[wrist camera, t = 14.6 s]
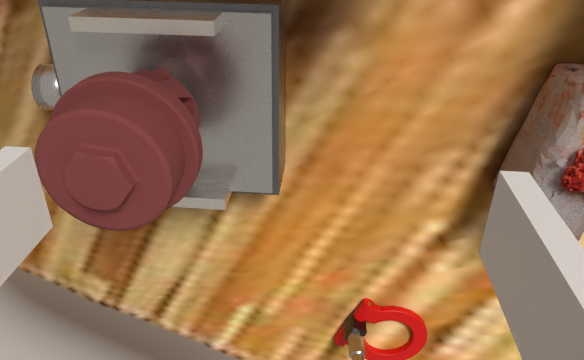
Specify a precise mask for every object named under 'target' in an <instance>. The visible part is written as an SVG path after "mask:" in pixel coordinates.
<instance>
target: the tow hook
mask: <svg viewBox="0 0 584 360" xmlns="http://www.w3.org/2000/svg"><path fill="white" fill-rule="evenodd" d="M387 320H393V321H399V322H402V323H404V324H406V325H407V326H409V327H410V329H411V330H412V337H411V339H410V340H409V341H408V343H406V344H405V345H404V346H402V347H399V348H397V349H392V350H381V349H377V348H374V347H372V346H370V345H369V344H368V343H367V342H366V341H365V339H364V336H365V335H366V333H367V331H366V322H365V321H368V322H370V323H378V322H381V321H387ZM334 340H335V342H336V343H337V344H338V345H339V346H344V345H345V344H347V345H348V346H349V356H350V358H351V359H352V360H364V358H365V359H367V360H406V359H408V358H411V357H413V356H414V355H415V354H417V353H418V352H419V351H420V350H421V349H422V348H423V347H424V345H425V343H426V341H427V329H426V326H425V323H424V321H423V320H422V319H421V318H420V316H419V315H417V314H416V313H414V312H413V311H411V310H408V309H405V308H403V307H395V306H385V307H379V306H377V305H375V304H374V302H373V301H372V300H370V299H364V301H363V302H362V303H361V304H360V306H359V307H358V308H357V309H356V311H354V312H353V313H352V314H351V315H350V317H349V318H348V319H347V320H346V322H345V323H344V326H343V327H342V328H341V330H340V331H339V332H338V333H337V335H336V336H335V337H334Z"/></svg>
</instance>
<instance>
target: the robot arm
mask: <svg viewBox="0 0 584 360" xmlns="http://www.w3.org/2000/svg"><path fill="white" fill-rule="evenodd" d="M52 227H53V225H52V221H51V218H50V214H49V211H48V207H47V204H46V200H45V196H44V193H43V189H42V186H41V182H40V178H39V175H38V171H37V168H36V164H35V161H34V157H33V153H32V150H31V148H30V147H10V146H5V147H4V148H2V149H1V150H0V286H1V285H2V284H3V283H4V281H6V279H7V278H8V277H9V276H10V275H11V274H12V273H13V271H14V270H15V269H16V268H17V267H18V266H19V265H20V263H21V262H22V261H23V260H24V259H25V258H26V257H27V256H28V254H29V253H30V252H31V251H32V250H33V249H34V248H35V246H36V245H37V244H38V243H39V242H40V241H41V240H42V238H43V237H44V236H45V235H46V234H47V233H48V232H49V230H50V229H51V228H52ZM479 254H480V256H481V259H482V261H483V264H484V266H485V268H486V271H487V273H488V276H489V278H490V281H491V283H492V286H493V288H494V291H495V293H496V296H497V298H498V301H499V303H500V305H501V308H502V310H503V313H504V315H505V318H506V320H507V323H508V325H509V328H510V330H511V333H512V335H513V337H514V340H515V342H516V345H517V347H518V350H519V352H520V355H521V357H522V360H584V249H583V247H582V246H581V245H580V243H579V242H578V240H577V239H576V238H575V236H574V235H573V233H572V232H571V231H570V229H569V228H568V226H567V225H566V224H565V222H564V221H563V219H562V218H561V217H560V215H559V214H558V212H557V211H556V210H555V208H554V207H553V205H552V204H551V203H550V201H549V200H548V198H547V197H546V196H545V194H544V193H543V191H542V190H541V188H540V187H539V186H538V184H537V183H536V181H535V180H534V179H533V177H532V176H531V174H530V173H529V172H516V171H499V175H498V179H497V183H496V187H495V191H494V195H493V199H492V203H491V206H490V210H489V214H488V218H487V222H486V226H485V230H484V234H483V238H482V242H481V245H480V249H479Z"/></svg>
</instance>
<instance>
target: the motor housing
mask: <svg viewBox="0 0 584 360" xmlns="http://www.w3.org/2000/svg"><path fill="white" fill-rule="evenodd" d="M38 2H39V6H40V10H41V15H42V19H43V23H44V27H45V32H46V36H47V40H48V45H49V49H50V53H51V58H52V62H53V64H40V65H38V66H37V67H36V69H35V70H34V73H33V76H32V93H33V97H34V99H35V101H36V103H37V105H38V106H39V107H40V108H42V109H44V110H53V108H54V106H55V104H56V103H57V101H58V100H59V98H60V97H61V96H62V95H63V94H64V93H65V92H66V91H67V90H69V89H70V88H71V87H73V86H74V85H76V84H77V83H78V82H80V81H82V80H83V79H85V78H87V77H89V76H92V75H95V74H98V73H104V72H127V73H134V72H138V71H145V70H150V71H153V70H154V69H156V68H158V67H163V68H166V69H167V70H169V71H170V73H171V74H172V77H173V78H174V79H176V80H178V81H179V82H180V83H181V84H182V85H184V86H185V87H186V89H187V90H188V91H189V92H190V93H191V95H192V97H193V98H194V100H195V102H196V105H197V107H198V111H199V118H200V122H199V132H200V136H201V139H202V146H203V159H202V164H201V168H200V171H199V173H198V176H197V178H196V180H195V182H194V184H193V186H192V187H191V189H190V190H189V192H188V193H187V194H186V195H185V196H184V197H183V199H182V200H180V201H179V202H178V203H176V204H175V205H173V206H171V207H182V208H200V209H218V210H226V208H227V205H228V202H229V199H230V197H231V194H232V192H234V193H253V194H271V195H279V192H280V187H281V182H282V177H283V172H284V167H285V118H286V0H38Z"/></svg>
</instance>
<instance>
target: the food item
mask: <svg viewBox="0 0 584 360" xmlns="http://www.w3.org/2000/svg"><path fill="white" fill-rule="evenodd" d="M499 171H516V172H529V173H530V174H531V176H532V177H533V179H534V180H535V181H536V183H537V184H538V186H539V187H540V188H541V190H542V191H543V193H544V194H545V196H546V197H547V198H548V200H549V201H550V203H551V204H552V205H553V207H554V208H555V210H556V211H557V212H558V214H559V215H560V217H561V218H562V219H563V221H564V222H565V224H566V225H567V226H568V228H569V229H570V231H571V232H572V233H573V235H574V236H575V238H576V239H577V240H578V241H579V239H580V237H581V235H582V233H583V232H584V65H581V64H575V63H564V64H556V65H555V66H554V68H553V69H552V71H551V73H550V75H549V76H548V78H547V80H546V81H545V83H544V85H543V87H542V88H541V90H540V92H539V93H538V95H537V97H536V99H535V101H534V103H533V105H532V107H531V109H530V111H529V114H528V116H527V118H526V119H525V121H524V123H523V125H522V127H521V129H520V131H519V132H518V134H517V136H516V138H515V139H514V141H513V143H512V145H511V147H510V149H509V151H508V153H507V155H506V157H505V160H504V161H503V163H502V165H501V167H500V169H499ZM499 171H498V173H497V175H496V177H495V179H494V181H493V184H492V186H491V187H492V188H493V187H494V188H495V187H496V183H497V179H498V175H499Z"/></svg>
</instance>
